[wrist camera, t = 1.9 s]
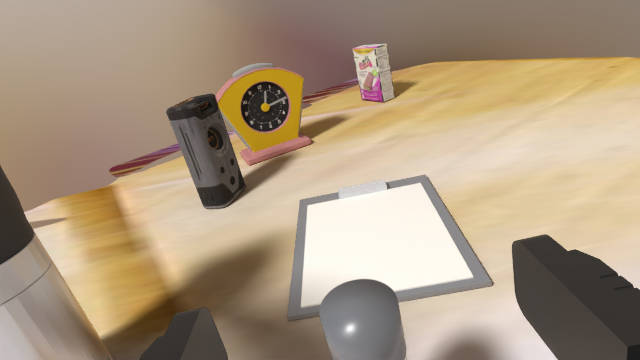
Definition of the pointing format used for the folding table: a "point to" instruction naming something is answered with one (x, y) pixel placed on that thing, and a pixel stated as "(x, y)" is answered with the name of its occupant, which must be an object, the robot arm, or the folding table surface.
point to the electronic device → (207, 150)
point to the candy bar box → (374, 72)
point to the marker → (363, 322)
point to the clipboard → (380, 244)
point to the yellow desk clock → (264, 110)
